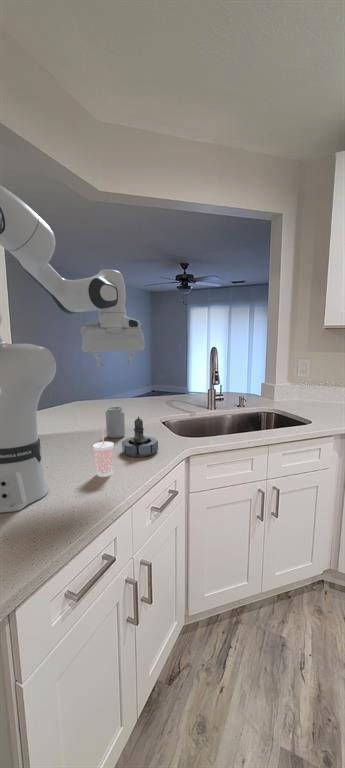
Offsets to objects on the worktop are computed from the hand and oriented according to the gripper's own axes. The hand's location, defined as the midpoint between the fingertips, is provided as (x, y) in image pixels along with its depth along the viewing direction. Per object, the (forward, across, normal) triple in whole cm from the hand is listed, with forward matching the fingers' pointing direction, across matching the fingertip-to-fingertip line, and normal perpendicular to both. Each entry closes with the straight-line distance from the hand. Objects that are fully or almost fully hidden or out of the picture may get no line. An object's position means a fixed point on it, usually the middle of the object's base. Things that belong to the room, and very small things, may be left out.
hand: (115, 365), depth 111 cm
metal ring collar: (+31, +8, +2) cm, 32 cm away
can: (+31, +4, +25) cm, 40 cm away
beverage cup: (+31, -7, -13) cm, 35 cm away
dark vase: (+30, +8, +2) cm, 32 cm away
